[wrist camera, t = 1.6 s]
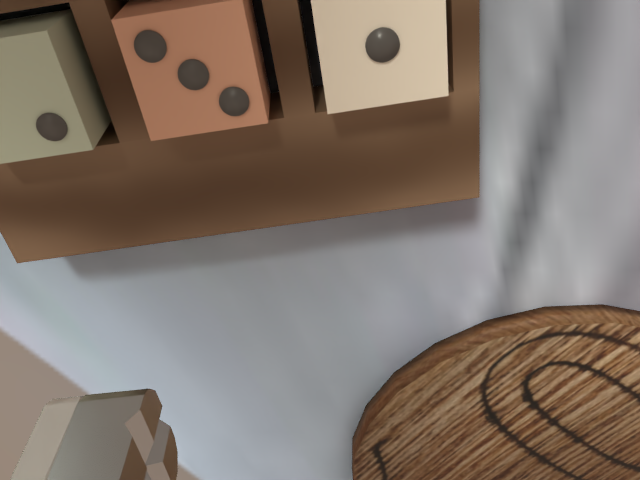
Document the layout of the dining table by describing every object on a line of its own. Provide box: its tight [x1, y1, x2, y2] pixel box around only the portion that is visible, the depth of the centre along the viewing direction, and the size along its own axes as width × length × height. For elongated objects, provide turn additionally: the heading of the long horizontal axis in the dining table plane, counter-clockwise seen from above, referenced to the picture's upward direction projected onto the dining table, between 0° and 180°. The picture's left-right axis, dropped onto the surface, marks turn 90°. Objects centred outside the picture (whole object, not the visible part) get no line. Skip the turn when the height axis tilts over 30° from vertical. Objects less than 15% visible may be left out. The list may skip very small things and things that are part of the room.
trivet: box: [352, 305, 640, 480], centre depth 41 cm, size 25×25×2 cm
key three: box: [111, 0, 271, 141], centre depth 23 cm, size 4×4×3 cm
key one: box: [311, 0, 449, 114], centre depth 23 cm, size 4×4×3 cm
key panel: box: [0, 0, 479, 263], centre depth 24 cm, size 16×21×3 cm
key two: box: [0, 9, 111, 164], centre depth 23 cm, size 4×4×3 cm
